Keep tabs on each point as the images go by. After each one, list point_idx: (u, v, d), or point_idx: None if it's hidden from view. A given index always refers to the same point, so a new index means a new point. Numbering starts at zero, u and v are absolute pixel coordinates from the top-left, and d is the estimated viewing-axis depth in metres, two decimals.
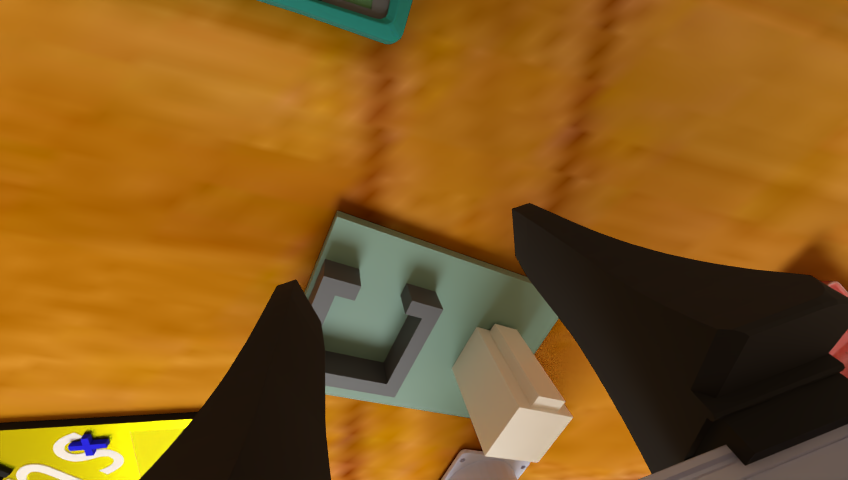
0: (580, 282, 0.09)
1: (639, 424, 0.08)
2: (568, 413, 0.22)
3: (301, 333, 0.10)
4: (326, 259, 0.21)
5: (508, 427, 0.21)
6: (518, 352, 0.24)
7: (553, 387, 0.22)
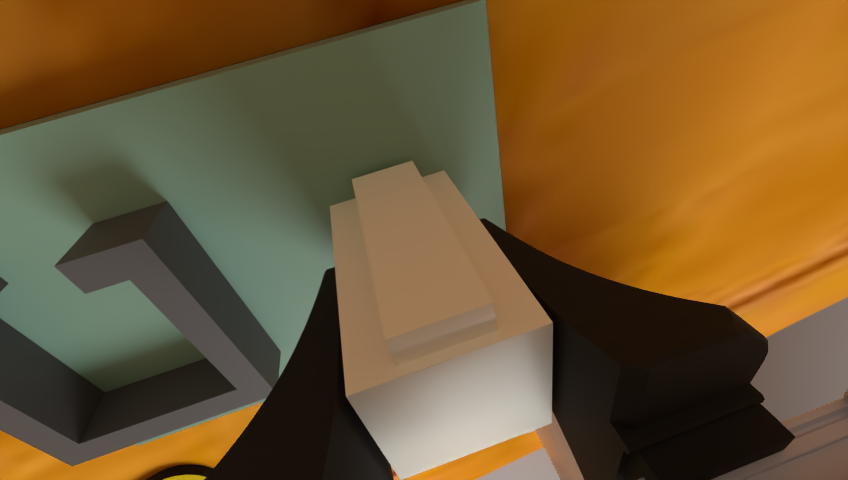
0: None
1: (578, 448, 0.08)
2: (537, 316, 0.07)
3: None
4: None
5: (381, 432, 0.07)
6: (386, 217, 0.09)
7: (461, 271, 0.07)
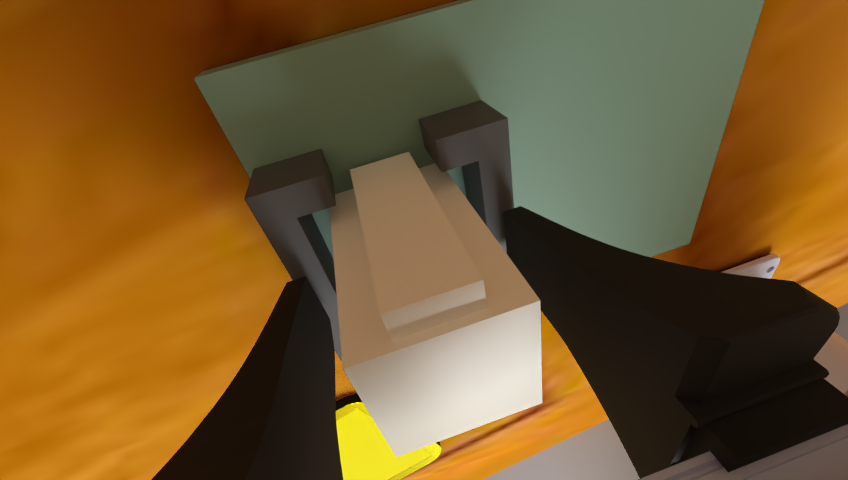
0: (569, 286, 0.09)
1: (628, 429, 0.08)
2: (526, 295, 0.07)
3: (312, 329, 0.10)
4: (256, 168, 0.11)
5: (377, 407, 0.08)
6: (382, 205, 0.10)
7: (453, 252, 0.08)
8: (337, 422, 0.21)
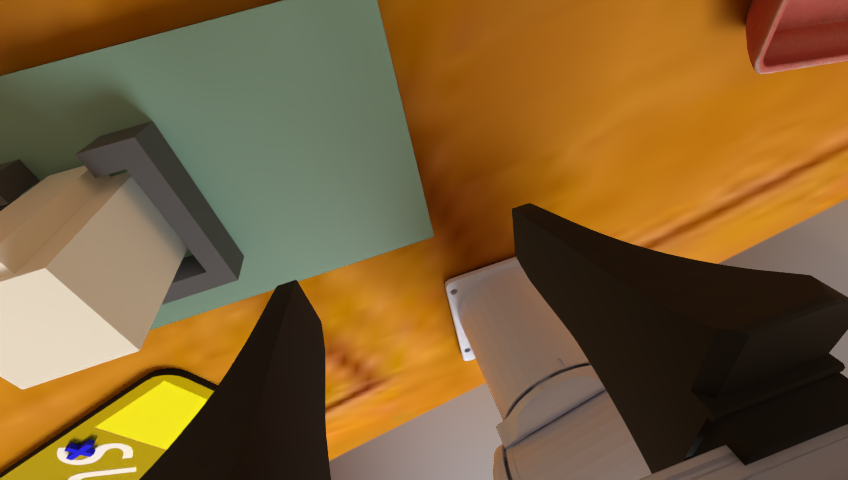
0: (580, 282, 0.09)
1: (640, 425, 0.08)
2: (43, 264, 0.11)
3: (301, 333, 0.10)
4: None
5: None
6: (22, 203, 0.13)
7: (3, 235, 0.11)
8: (150, 393, 0.24)
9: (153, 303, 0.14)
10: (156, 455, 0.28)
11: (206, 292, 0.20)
